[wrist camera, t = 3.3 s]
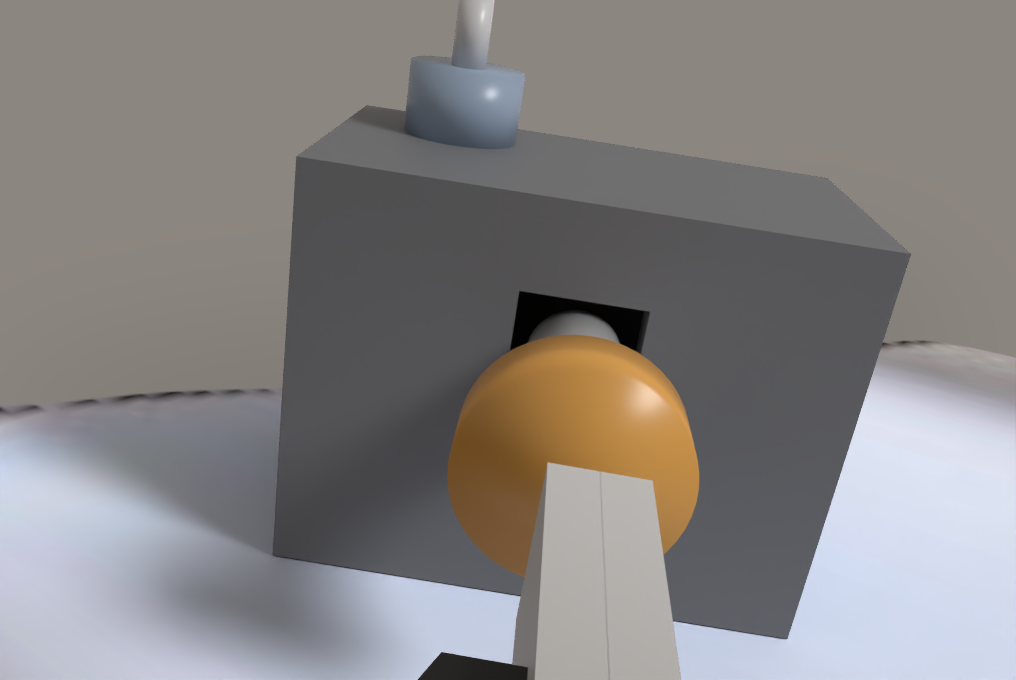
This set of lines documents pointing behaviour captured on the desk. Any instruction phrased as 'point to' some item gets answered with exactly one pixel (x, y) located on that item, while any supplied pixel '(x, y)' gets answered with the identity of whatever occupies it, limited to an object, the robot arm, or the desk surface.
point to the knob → (566, 433)
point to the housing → (562, 287)
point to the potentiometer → (465, 89)
